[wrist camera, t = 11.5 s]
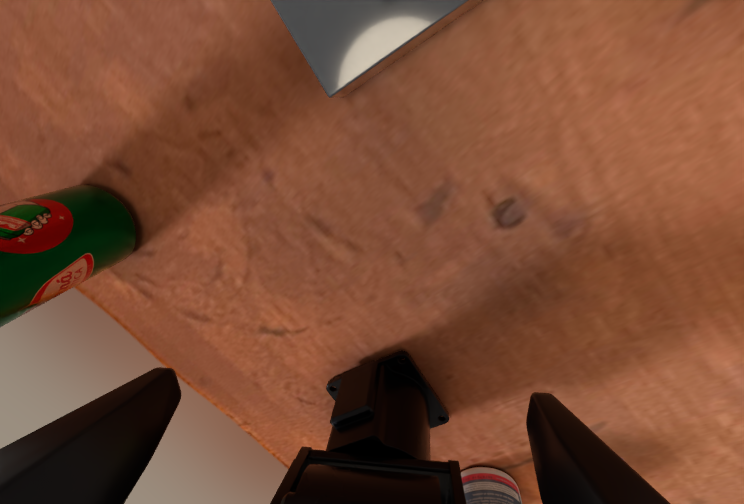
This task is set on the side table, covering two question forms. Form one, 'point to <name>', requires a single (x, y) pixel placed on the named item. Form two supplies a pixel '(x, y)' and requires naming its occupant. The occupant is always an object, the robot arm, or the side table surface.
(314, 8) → the butter dish
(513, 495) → the pill bottle
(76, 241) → the soda can
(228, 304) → the side table surface
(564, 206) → the side table surface
